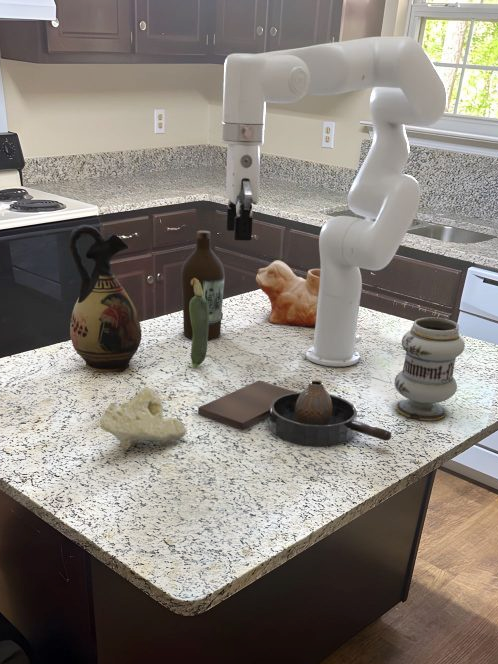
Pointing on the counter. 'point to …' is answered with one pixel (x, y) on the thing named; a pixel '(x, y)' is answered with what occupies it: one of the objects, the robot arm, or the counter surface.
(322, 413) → the vase
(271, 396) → the board
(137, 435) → the cream coral rock
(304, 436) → the pan
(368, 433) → the pan handle
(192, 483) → the counter surface
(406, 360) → the apothecary jar
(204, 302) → the vegetable
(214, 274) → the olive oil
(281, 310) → the ceramic vessel
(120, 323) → the ceramic jug
